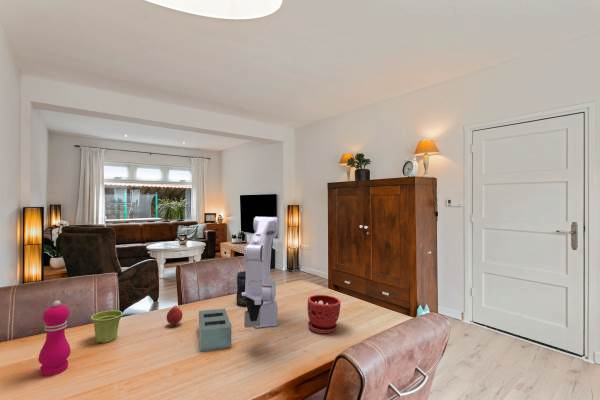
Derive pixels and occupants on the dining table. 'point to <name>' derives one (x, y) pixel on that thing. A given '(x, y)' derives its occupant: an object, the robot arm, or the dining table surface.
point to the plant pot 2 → (323, 313)
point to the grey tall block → (251, 323)
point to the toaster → (214, 330)
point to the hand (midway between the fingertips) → (252, 319)
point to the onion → (174, 316)
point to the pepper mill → (55, 341)
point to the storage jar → (241, 289)
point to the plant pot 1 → (106, 325)
